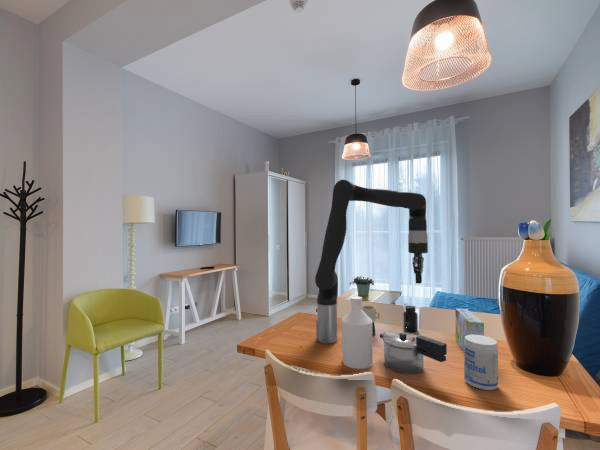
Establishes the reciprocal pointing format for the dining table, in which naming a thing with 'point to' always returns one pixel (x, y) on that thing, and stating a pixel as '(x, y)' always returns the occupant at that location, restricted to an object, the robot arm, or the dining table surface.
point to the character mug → (371, 314)
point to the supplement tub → (481, 362)
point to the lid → (415, 342)
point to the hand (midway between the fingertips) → (418, 283)
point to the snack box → (467, 325)
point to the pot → (407, 358)
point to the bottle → (357, 337)
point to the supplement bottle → (410, 319)
